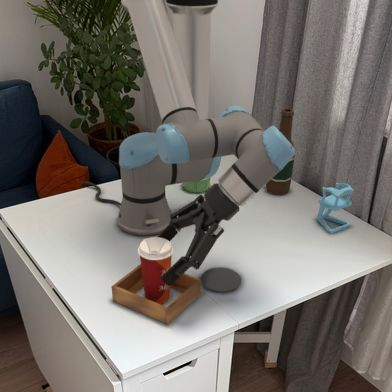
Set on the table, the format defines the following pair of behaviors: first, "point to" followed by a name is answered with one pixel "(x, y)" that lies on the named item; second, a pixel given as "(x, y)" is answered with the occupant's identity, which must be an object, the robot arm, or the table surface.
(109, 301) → the table surface
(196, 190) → the ramekin
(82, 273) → the table surface
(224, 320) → the table surface
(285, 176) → the beer bottle
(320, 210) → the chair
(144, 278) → the paper cup
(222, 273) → the coaster
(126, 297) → the wooden frame
